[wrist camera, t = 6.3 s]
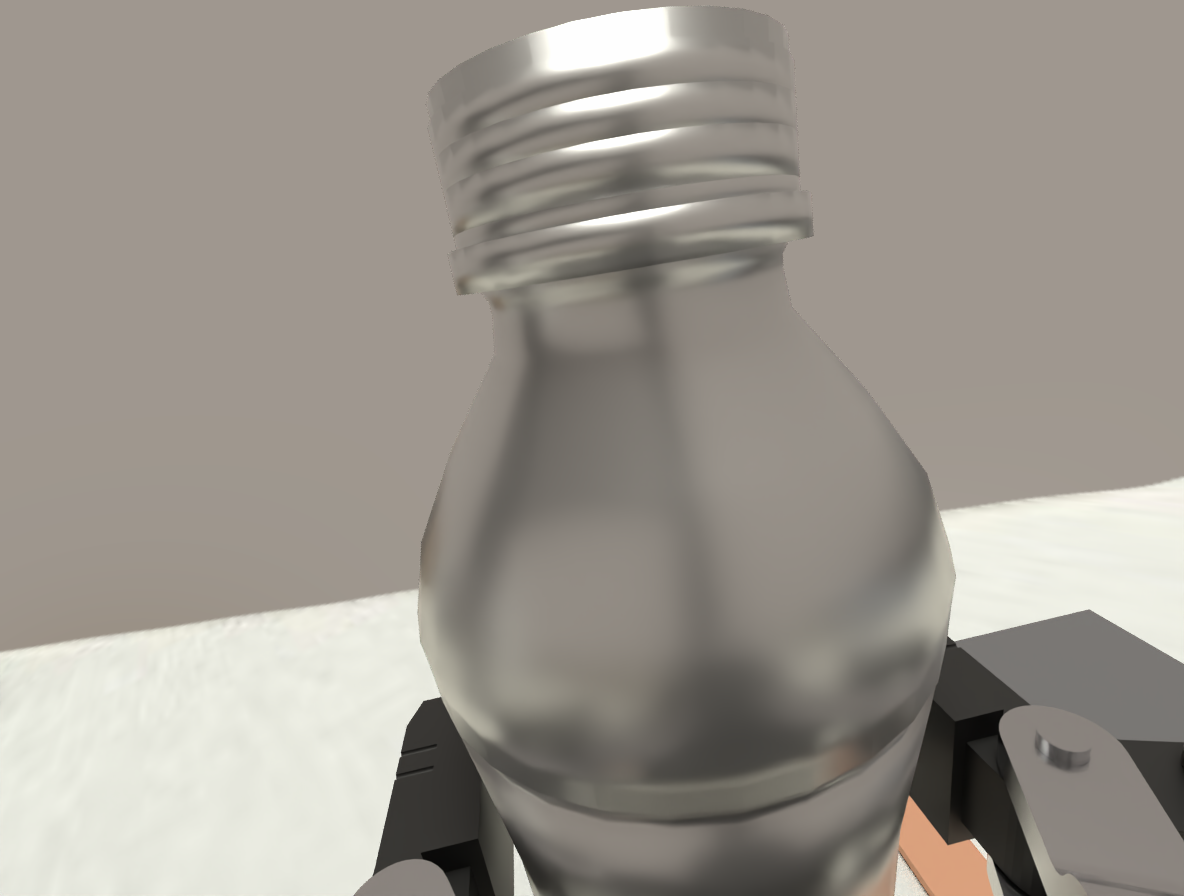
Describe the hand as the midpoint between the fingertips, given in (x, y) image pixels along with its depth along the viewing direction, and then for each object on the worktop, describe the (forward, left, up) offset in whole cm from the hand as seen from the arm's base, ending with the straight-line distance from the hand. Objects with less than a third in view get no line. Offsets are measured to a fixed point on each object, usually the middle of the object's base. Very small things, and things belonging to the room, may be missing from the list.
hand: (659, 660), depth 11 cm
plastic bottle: (0, -2, -11) cm, 11 cm away
